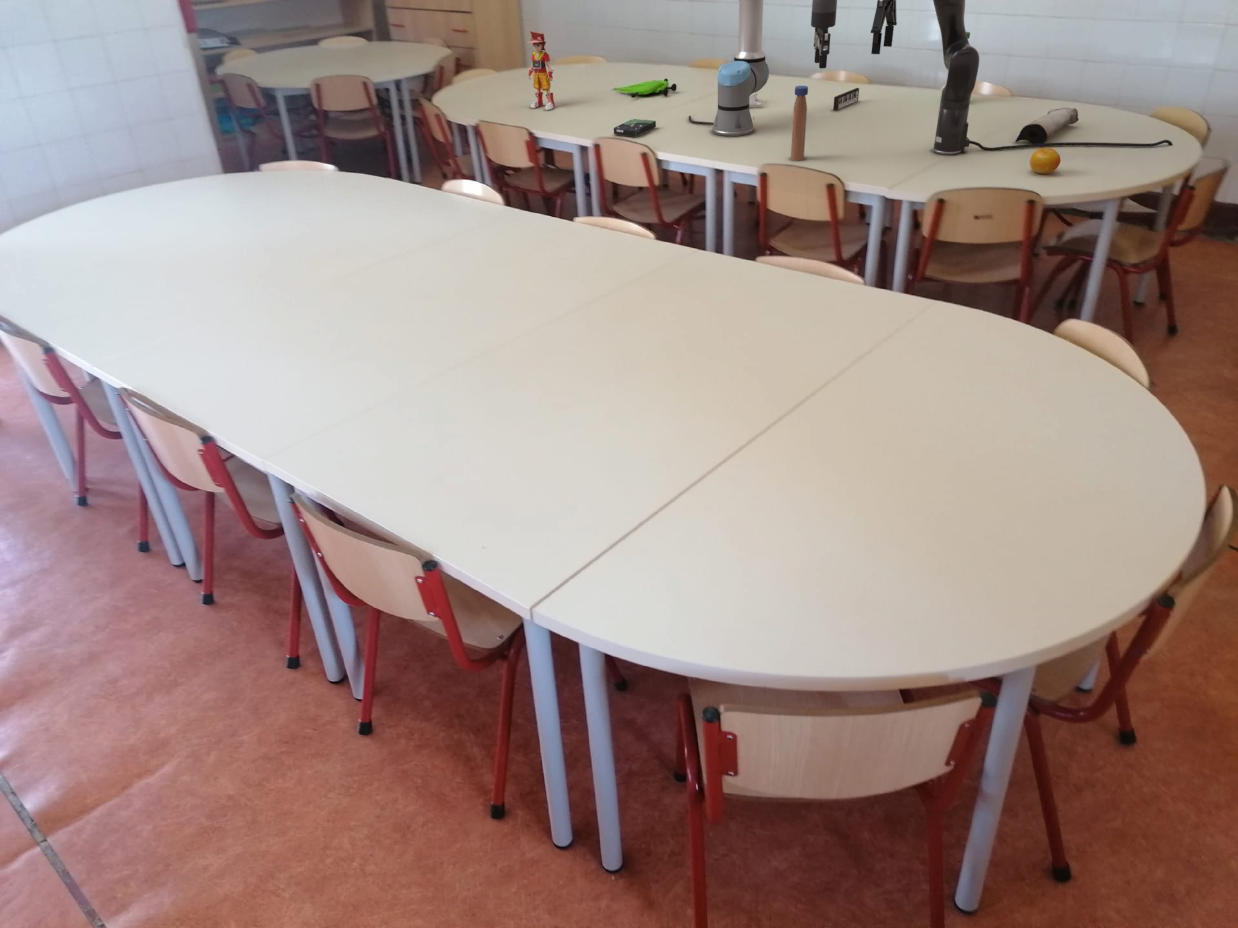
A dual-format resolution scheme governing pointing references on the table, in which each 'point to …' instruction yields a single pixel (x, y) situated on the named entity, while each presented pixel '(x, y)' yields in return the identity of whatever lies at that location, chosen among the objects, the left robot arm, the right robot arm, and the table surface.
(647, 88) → the toy
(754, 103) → the anatomical model
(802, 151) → the bottle
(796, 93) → the cap
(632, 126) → the disk drive
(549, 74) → the toy
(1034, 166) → the fruit
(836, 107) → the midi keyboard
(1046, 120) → the rolled mat
